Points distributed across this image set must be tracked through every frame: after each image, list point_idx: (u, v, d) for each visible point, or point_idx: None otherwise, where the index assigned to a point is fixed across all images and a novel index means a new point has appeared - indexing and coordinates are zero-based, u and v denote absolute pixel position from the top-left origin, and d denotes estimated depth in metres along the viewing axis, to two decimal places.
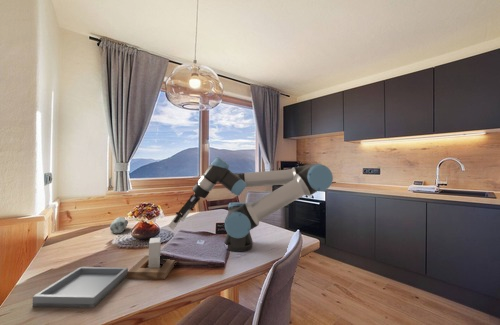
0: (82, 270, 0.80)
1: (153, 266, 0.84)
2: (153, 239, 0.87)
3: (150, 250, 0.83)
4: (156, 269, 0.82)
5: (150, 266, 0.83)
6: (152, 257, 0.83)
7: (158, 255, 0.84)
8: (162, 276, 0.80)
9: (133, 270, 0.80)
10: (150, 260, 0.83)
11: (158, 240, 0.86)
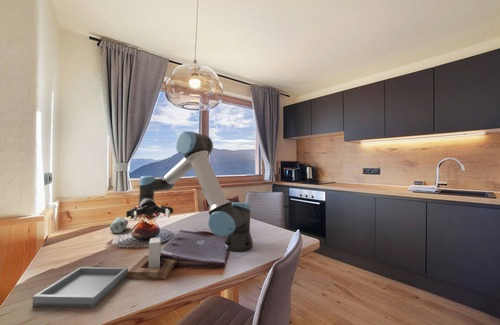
0: (82, 270, 0.80)
1: (153, 266, 0.84)
2: (153, 239, 0.87)
3: (150, 250, 0.83)
4: (156, 269, 0.82)
5: (150, 266, 0.83)
6: (152, 257, 0.83)
7: (158, 255, 0.84)
8: (162, 276, 0.80)
9: (133, 270, 0.80)
10: (150, 260, 0.83)
11: (158, 240, 0.86)
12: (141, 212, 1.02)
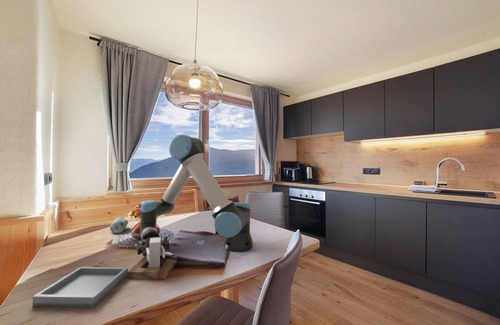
0: (82, 270, 0.80)
1: (153, 266, 0.84)
2: (153, 239, 0.87)
3: (150, 250, 0.83)
4: (156, 269, 0.82)
5: (150, 266, 0.83)
6: (152, 257, 0.83)
7: (158, 255, 0.84)
8: (162, 276, 0.80)
9: (133, 270, 0.80)
10: (150, 260, 0.83)
11: (158, 240, 0.86)
12: (148, 246, 0.92)
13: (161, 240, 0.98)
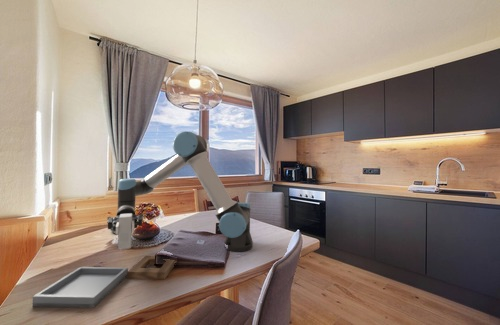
0: (82, 270, 0.80)
1: (123, 242, 0.79)
2: (124, 214, 0.82)
3: (120, 225, 0.79)
4: (156, 269, 0.82)
5: (120, 242, 0.79)
6: (122, 232, 0.79)
7: (129, 230, 0.80)
8: (162, 276, 0.80)
9: (133, 270, 0.80)
10: (120, 235, 0.79)
11: (129, 215, 0.82)
12: None
13: (136, 217, 0.93)
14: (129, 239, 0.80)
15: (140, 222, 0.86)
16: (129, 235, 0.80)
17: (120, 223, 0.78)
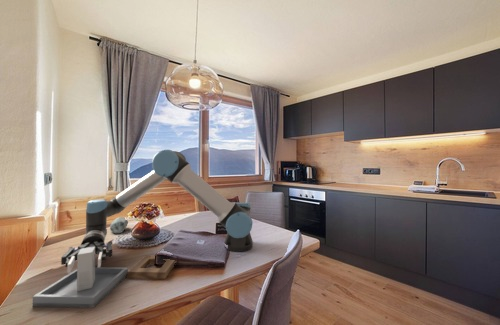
0: None
1: (83, 282, 0.70)
2: (84, 249, 0.73)
3: (79, 263, 0.69)
4: (156, 269, 0.82)
5: (79, 282, 0.69)
6: (82, 271, 0.70)
7: (90, 268, 0.71)
8: (162, 276, 0.80)
9: (133, 270, 0.80)
10: (79, 275, 0.69)
11: (90, 250, 0.73)
12: None
13: (104, 246, 0.84)
14: (90, 278, 0.71)
15: (110, 252, 0.78)
16: (90, 273, 0.71)
17: (79, 261, 0.69)
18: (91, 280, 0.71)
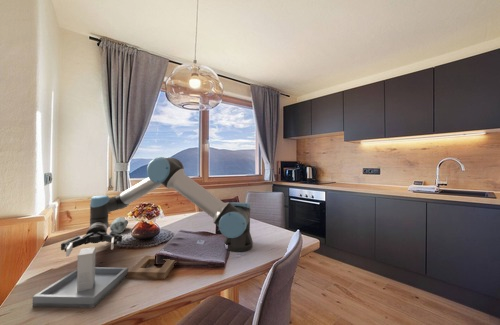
0: None
1: (83, 282, 0.70)
2: (85, 250, 0.73)
3: (79, 263, 0.69)
4: (156, 269, 0.82)
5: (79, 283, 0.69)
6: (82, 272, 0.69)
7: (90, 269, 0.71)
8: (162, 276, 0.80)
9: (133, 270, 0.80)
10: (79, 275, 0.69)
11: (91, 251, 0.72)
12: (82, 242, 0.88)
13: None
14: (90, 279, 0.71)
15: (121, 238, 0.92)
16: (90, 274, 0.71)
17: (79, 262, 0.69)
18: (91, 281, 0.71)
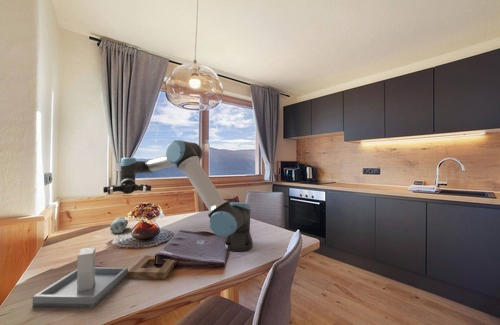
0: None
1: (83, 282, 0.70)
2: (85, 250, 0.73)
3: (79, 263, 0.69)
4: (156, 269, 0.82)
5: (79, 283, 0.69)
6: (82, 272, 0.69)
7: (90, 269, 0.71)
8: (162, 276, 0.80)
9: (133, 270, 0.80)
10: (79, 275, 0.69)
11: (91, 251, 0.72)
12: (119, 189, 1.05)
13: None
14: (90, 279, 0.71)
15: (150, 188, 1.09)
16: (90, 274, 0.71)
17: (79, 262, 0.69)
18: (91, 281, 0.71)
